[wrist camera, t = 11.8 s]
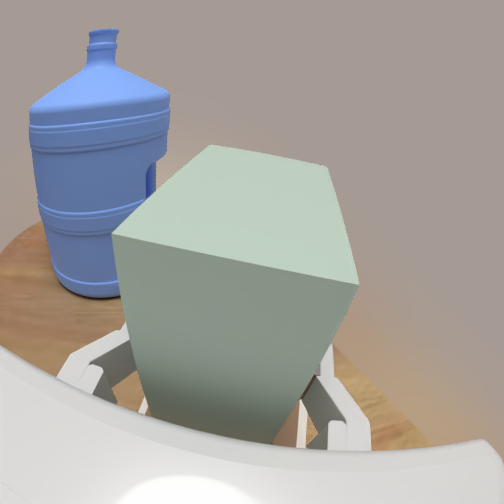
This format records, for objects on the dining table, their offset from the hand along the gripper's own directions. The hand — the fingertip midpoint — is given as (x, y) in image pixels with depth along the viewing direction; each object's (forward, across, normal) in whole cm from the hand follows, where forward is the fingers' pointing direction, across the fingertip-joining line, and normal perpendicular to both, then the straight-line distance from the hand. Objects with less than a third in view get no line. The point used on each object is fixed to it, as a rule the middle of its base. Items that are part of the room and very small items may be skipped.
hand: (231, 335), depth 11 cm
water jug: (+19, +19, +15) cm, 31 cm away
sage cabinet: (0, 0, +8) cm, 8 cm away
